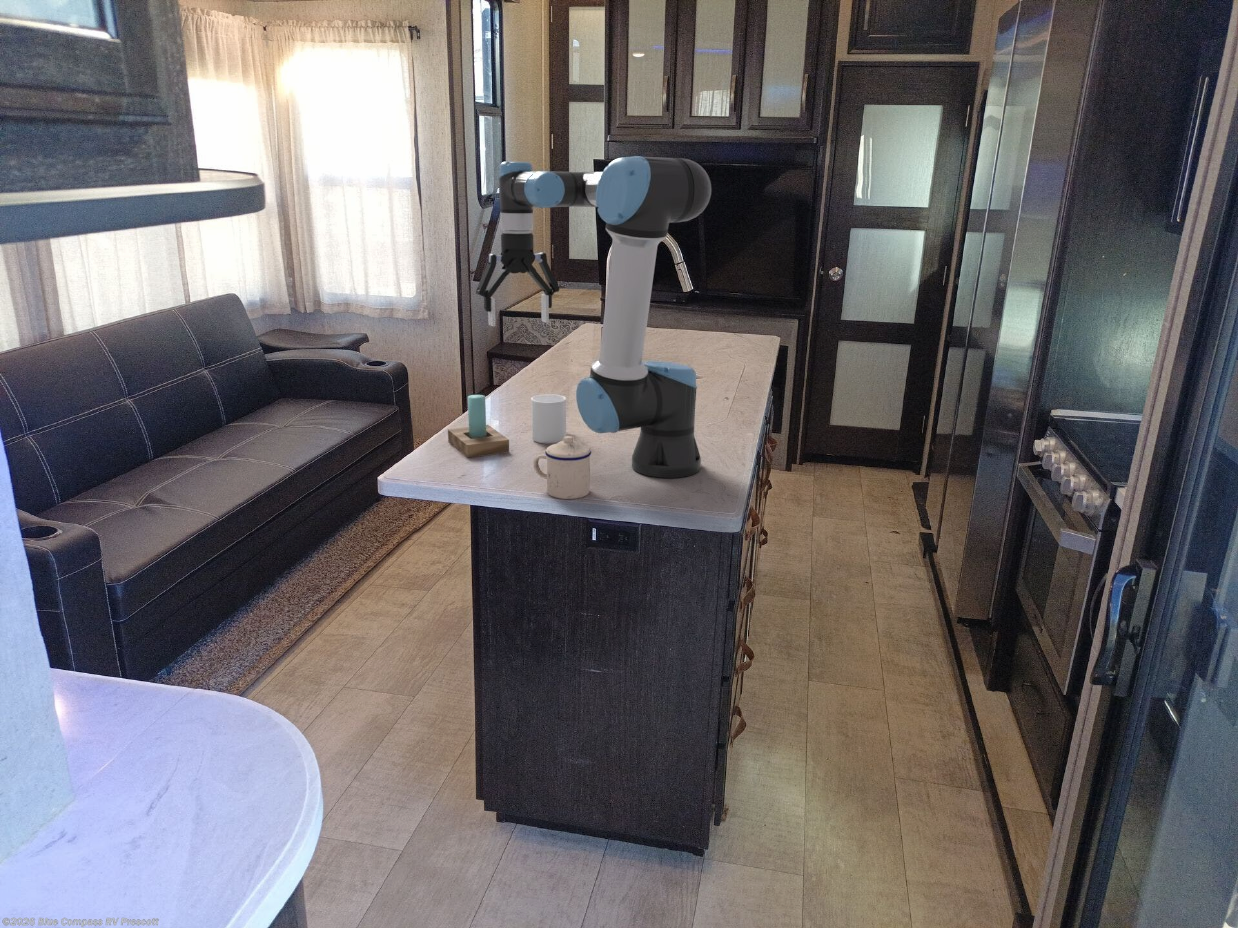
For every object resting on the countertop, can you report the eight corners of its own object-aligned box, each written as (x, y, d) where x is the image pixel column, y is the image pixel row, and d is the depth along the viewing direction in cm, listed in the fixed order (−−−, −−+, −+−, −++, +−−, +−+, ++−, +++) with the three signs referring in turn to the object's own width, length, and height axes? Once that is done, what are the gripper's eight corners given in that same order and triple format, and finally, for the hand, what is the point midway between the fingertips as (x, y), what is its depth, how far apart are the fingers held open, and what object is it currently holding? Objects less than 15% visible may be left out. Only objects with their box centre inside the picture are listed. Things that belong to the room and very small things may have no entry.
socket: (509, 452, 201) (508, 439, 200) (467, 457, 196) (466, 445, 195) (488, 436, 213) (487, 424, 212) (448, 441, 208) (447, 429, 207)
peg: (489, 448, 204) (487, 397, 200) (472, 450, 202) (470, 399, 198) (483, 443, 207) (481, 394, 203) (467, 445, 205) (465, 395, 202)
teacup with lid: (597, 488, 179) (598, 433, 175) (580, 502, 171) (580, 445, 167) (543, 480, 183) (543, 427, 179) (525, 494, 175) (524, 438, 171)
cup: (525, 441, 209) (524, 400, 206) (549, 428, 220) (548, 389, 217) (556, 445, 206) (556, 404, 203) (578, 433, 217) (578, 393, 214)
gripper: (559, 230, 211) (560, 318, 218) (460, 232, 200) (463, 324, 207) (572, 232, 205) (572, 322, 212) (470, 234, 194) (474, 329, 200)
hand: (518, 323), depth 209 cm, fingers open, 13 cm apart
